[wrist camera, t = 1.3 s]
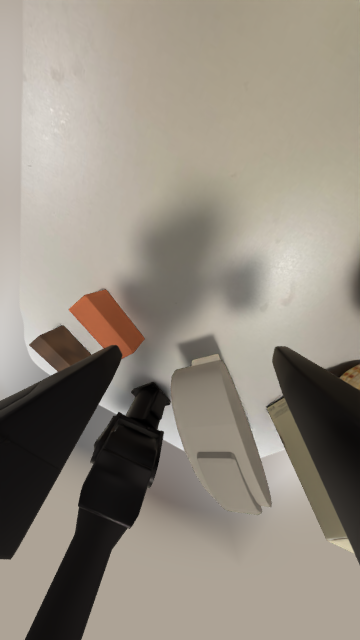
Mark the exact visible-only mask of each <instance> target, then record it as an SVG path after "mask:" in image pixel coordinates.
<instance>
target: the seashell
mask: <svg viewBox="0 0 360 640" xmlns="http://www.w3.org/2000/svg"><path fill="white" fill-rule="evenodd" d="M339 378H340V379H342V380H343V381H345V382H347V383H348V384H350V385H352V386H354V387H355V388H357V389H359V390H360V365H356V366H354V367H353V368H351V369H350V370H348V371H346V372H345V373H344V374H343V375H342V376H341V377H339Z"/></svg>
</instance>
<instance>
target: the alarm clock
mask: <svg viewBox="0 0 360 640" xmlns="http://www.w3.org/2000/svg"><path fill="white" fill-rule="evenodd" d="M171 398H172V407H173V411H174V416H175V420H176V425H177V429H178V432H179V435H180V438H181V441H182V444H183V447H184V450H185V452H186V454H187V456H188V459H189V461H190V463H191V465H192V468H193V470H194V472H195V474H196V475H197V477H198V479H199V480H200V482H201V484H202V485H203V487H204V488H205V489H206V490H207V491H208V492H209V494H210V495H211V496H212V497H213V498H215V500H216V501H217V502H218V503H219V504H220V505H221V506H222V507H223V509H225V510H227V511H231V512H239V513H247V514H254V515H260V514H261V513H262V509H261V506H266V507H271V504H272V503H271V496H270V491H269V487H268V483H267V480H266V476H265V472H264V469H263V466H262V462H261V459H260V456H259V453H258V449H257V446H256V443H255V440H254V437H253V434H252V431H251V429H250V426H249V423H248V420H247V417H246V415H245V412H244V409H243V406H242V404H241V401H240V399H239V396H238V393H237V391H236V389H235V386H234V384H233V381H232V379H231V377H230V375H229V372H228V370H227V368H226V366H225V364H224V363H223V362H222V360H220V357H219V355H218V354H215V355H211V356H207V357H203V358H199V359H194V360H192V366H190V367H186V368H181V369H177V370H175V372H174V374H173V375H172V380H171Z"/></svg>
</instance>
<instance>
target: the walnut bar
mask: <svg viewBox="0 0 360 640" xmlns="http://www.w3.org/2000/svg"><path fill="white" fill-rule="evenodd" d="M29 346H31V347H32V348H33V349H34V350H35V351H36V352H37V353H38V354H39V355H40V356H41V357H43V358H44V359H45V360H46V361H47V362H48V363H49V364H50V365H51V366H52V367H53V368H55V369H56V370H57V371H58V372H59V371H61V370H63V369H65V368H67V367H69V366H71V365H73V364H75V363H77V362H79V361H81V360H83V359H85V358H87V357H88V356H90V355H91V354H90V353H89V352H88V351H87V350H86V349H85V348H84V347H83V346H82V345H81V344H80V342H79V341H78V340H77V339H76V338H75V337H74V336H73V335H72V334H71V333H70V332H69V331H68V330H67V329H66V328H65V327H64V326H60V327H58V328H56V329H53V330H51V331H49V332H47V333H44V334H42V335H40V336H38V337H37V338H36V339H35V340H34V341H33V342H32V343H31V344H29Z"/></svg>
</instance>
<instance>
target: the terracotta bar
mask: <svg viewBox="0 0 360 640" xmlns="http://www.w3.org/2000/svg"><path fill="white" fill-rule="evenodd" d="M69 311H70V312H71V313H72V314H73V315H74V316H75V317H76V318H77V320H78V321H79V322H80V323H81V324H82V325H83V326H84V327H85V328H86V329H87V331H88V332H89V333H90V334H91V335H92V336H93V337H94V338H95V339H96V340H97V342H98V343H99V344H100V345H101V346H102V347H103V348H106V347H108V346H110V345H118V347H119V348H120V351H121V353H122V359H123V358H125V357H127V356H128V355H130V354H132V353H134V352H135V351H136V349H137V348H138V347H139V345H140V344H141V343H142V342H143V340H144V339H145V338H144V337H143V336H142V334H141V333H140V332H139V331H138V329H137V328H136V327H135V326H134V324H133V323H132V322H131V321H130V319H129V318H128V317H127V315H126V314H125V313H124V312H123V310H122V309H121V308H120V307H119V305H118V304H117V303H116V301H115V300H114V299H113V298H112V296H111V295H110V294H109V293H108V291H107V290H106V289H105V290H102V291H98V292H94V293H90V294H86V295H84V296H83V297H82V298H81V299H80V300H79V301H77V302H76V303H75V304H74V305H73V306H72V307H71V308H70V309H69Z"/></svg>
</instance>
